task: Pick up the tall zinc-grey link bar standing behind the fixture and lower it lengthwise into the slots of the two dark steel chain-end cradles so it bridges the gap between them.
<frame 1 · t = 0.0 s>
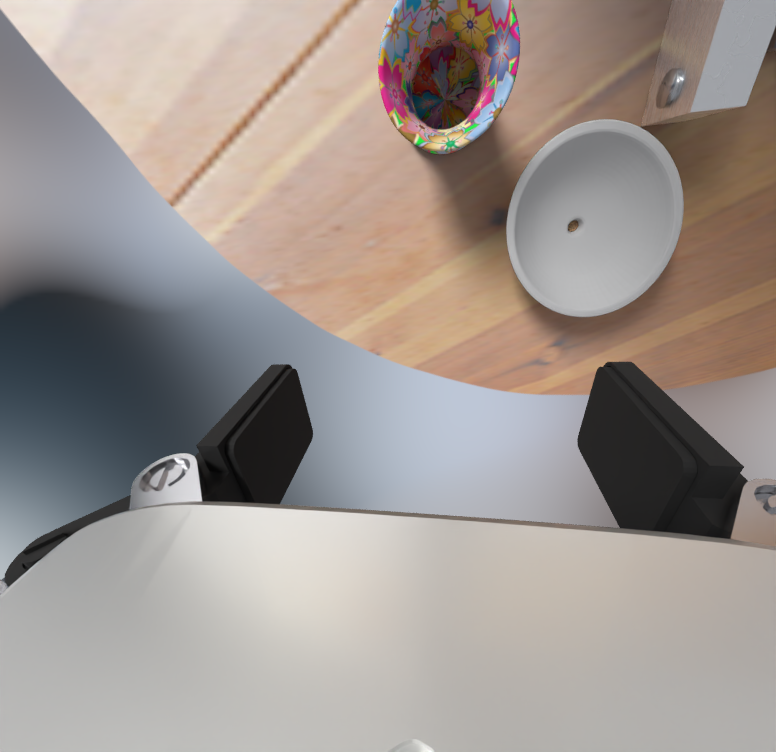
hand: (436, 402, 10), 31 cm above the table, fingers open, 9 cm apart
dish: (571, 225, 34), on the table
master link: (686, 32, 26), on the table
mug: (438, 85, 30), on the table
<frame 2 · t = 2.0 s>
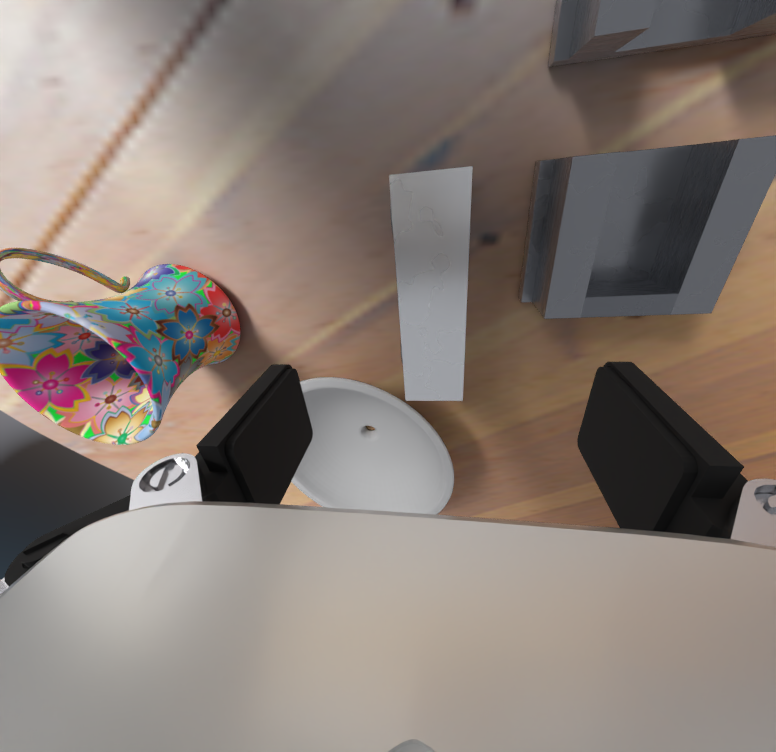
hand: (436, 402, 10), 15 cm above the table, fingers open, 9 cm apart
chain end b: (611, 230, 20), on the table
dish: (371, 424, 31), on the table
master link: (433, 272, 22), on the table
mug: (185, 299, 26), on the table
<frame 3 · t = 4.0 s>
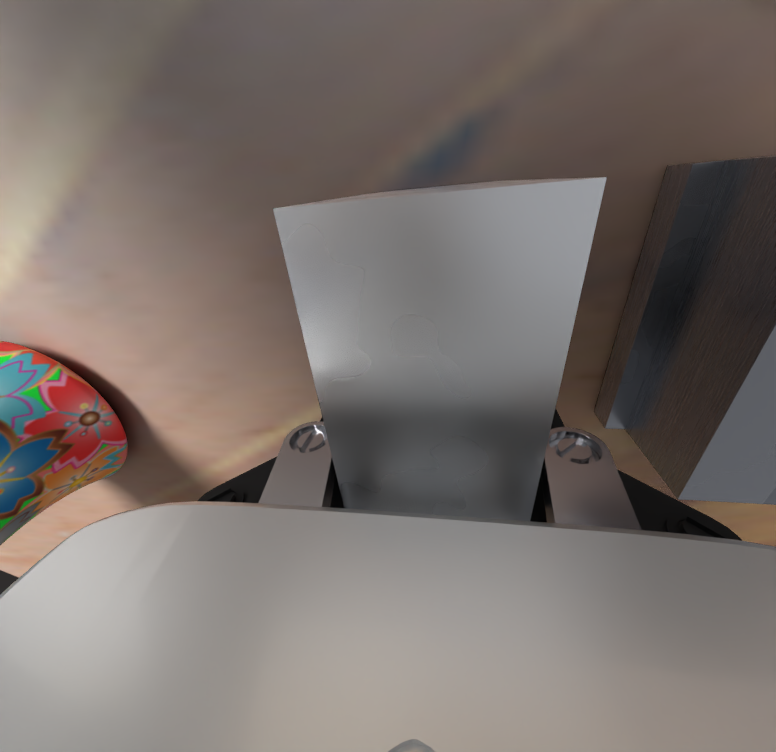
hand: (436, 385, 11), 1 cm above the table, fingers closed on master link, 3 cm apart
master link: (437, 366, 12), on the table, touching gripper
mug: (41, 384, 16), on the table
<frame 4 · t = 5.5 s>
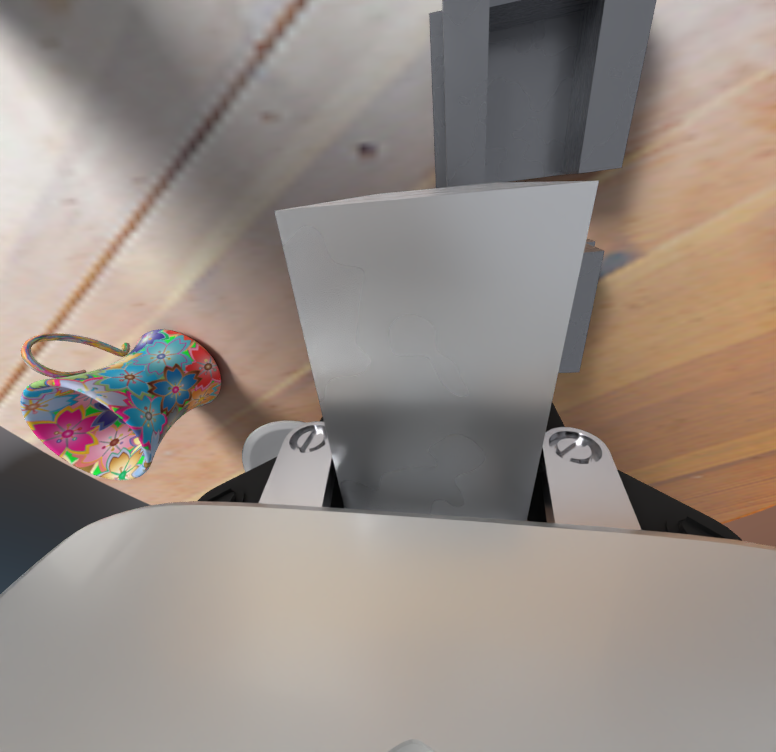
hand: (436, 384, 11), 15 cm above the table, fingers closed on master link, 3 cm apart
chain end b: (507, 302, 24), on the table
dish: (337, 452, 36), on the table
master link: (436, 366, 12), point 14 cm above the table, touching gripper
chain end a: (521, 99, 18), on the table
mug: (176, 353, 32), on the table
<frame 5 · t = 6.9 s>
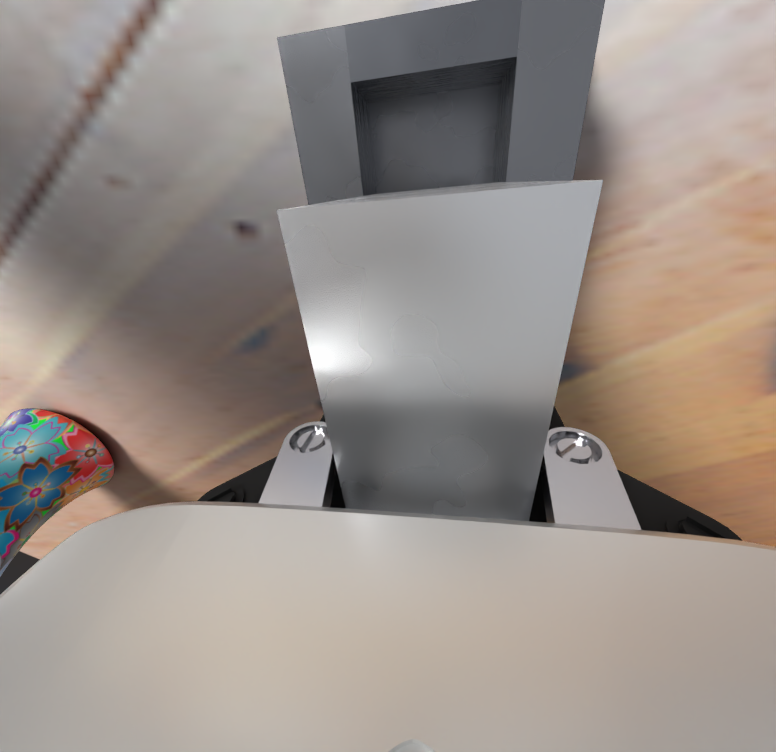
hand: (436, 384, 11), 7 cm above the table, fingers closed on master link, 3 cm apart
master link: (436, 366, 12), point 5 cm above the table, touching gripper
chain end a: (433, 183, 14), on the table
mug: (60, 429, 27), on the table
when the fingers open (4 cm above the table, at t = 7.6 s): master link drops 2 cm, resting on chain end a, chain end b.
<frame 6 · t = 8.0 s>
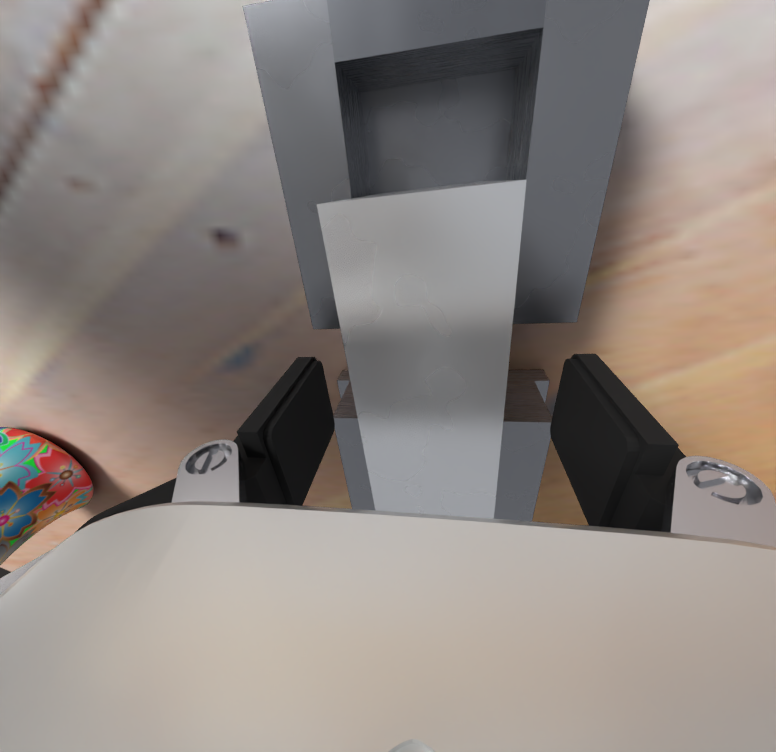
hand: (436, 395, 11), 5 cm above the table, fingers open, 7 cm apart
chain end b: (438, 431, 18), on the table
master link: (434, 342, 14), point 1 cm above the table, touching chain end a, chain end b
chain end a: (436, 186, 12), on the table
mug: (36, 448, 25), on the table
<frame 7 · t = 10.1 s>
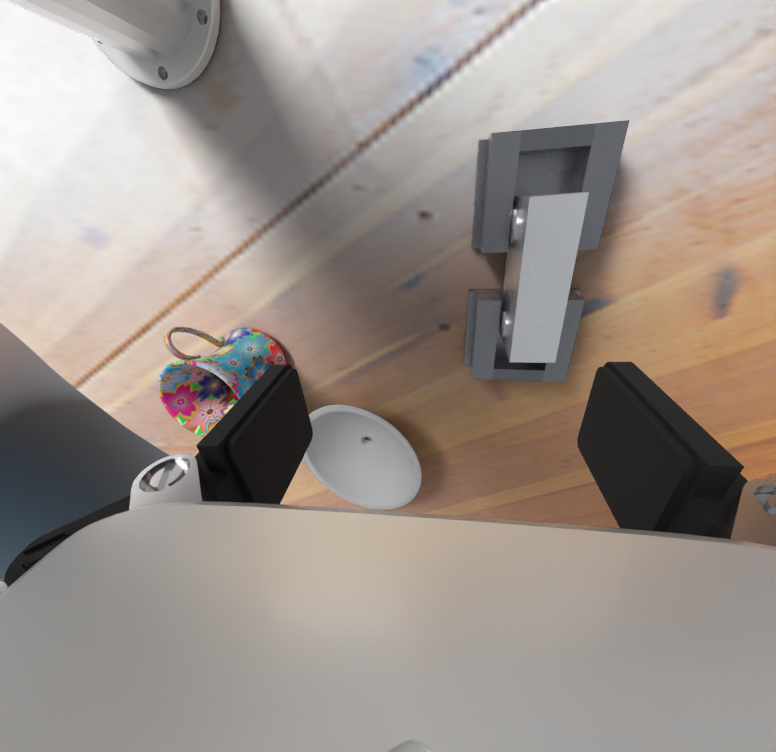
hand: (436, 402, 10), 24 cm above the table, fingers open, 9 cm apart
chain end b: (515, 327, 33), on the table
dish: (369, 435, 44), on the table
master link: (525, 269, 29), point 1 cm above the table, touching chain end a, chain end b
chain end a: (535, 194, 27), on the table
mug: (252, 347, 40), on the table
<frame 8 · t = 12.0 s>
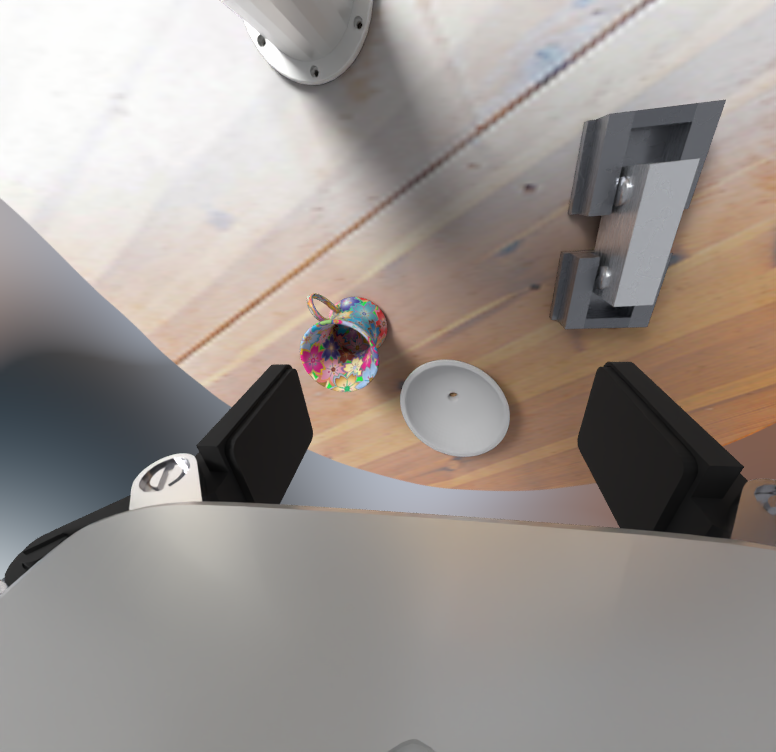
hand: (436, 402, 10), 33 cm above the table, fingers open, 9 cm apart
chain end b: (599, 284, 38), on the table
dish: (453, 392, 50), on the table
master link: (615, 231, 35), point 1 cm above the table, touching chain end a, chain end b
chain end a: (628, 165, 32), on the table
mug: (354, 315, 45), on the table
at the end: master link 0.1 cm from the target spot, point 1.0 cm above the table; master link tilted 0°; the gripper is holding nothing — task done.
